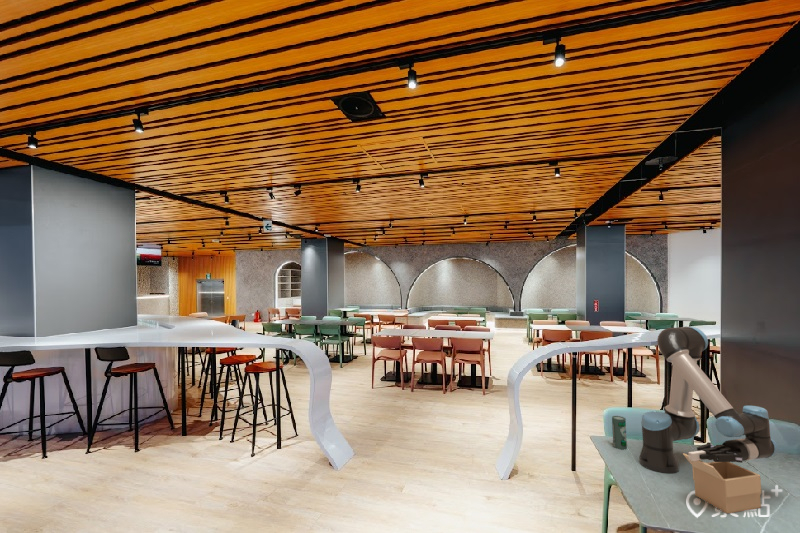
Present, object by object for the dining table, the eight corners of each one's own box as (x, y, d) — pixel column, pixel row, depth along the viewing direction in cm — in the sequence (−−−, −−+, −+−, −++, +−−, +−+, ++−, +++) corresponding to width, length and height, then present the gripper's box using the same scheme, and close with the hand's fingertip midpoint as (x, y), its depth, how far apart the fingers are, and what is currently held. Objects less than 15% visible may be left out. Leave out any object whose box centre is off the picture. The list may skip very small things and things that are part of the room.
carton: (728, 514, 138) (726, 480, 139) (694, 495, 151) (692, 464, 152) (763, 508, 142) (761, 475, 142) (727, 490, 154) (725, 460, 155)
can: (626, 450, 193) (625, 420, 194) (613, 448, 196) (611, 418, 197) (626, 446, 198) (625, 417, 199) (613, 443, 201) (612, 415, 202)
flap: (724, 479, 140) (723, 480, 140) (693, 465, 151) (693, 466, 151) (713, 466, 139) (712, 467, 139) (683, 453, 151) (682, 453, 150)
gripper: (758, 467, 142) (708, 475, 137) (722, 452, 155) (675, 459, 150) (757, 447, 142) (706, 453, 137) (721, 434, 155) (674, 439, 150)
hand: (690, 456), depth 144 cm, fingers closed
